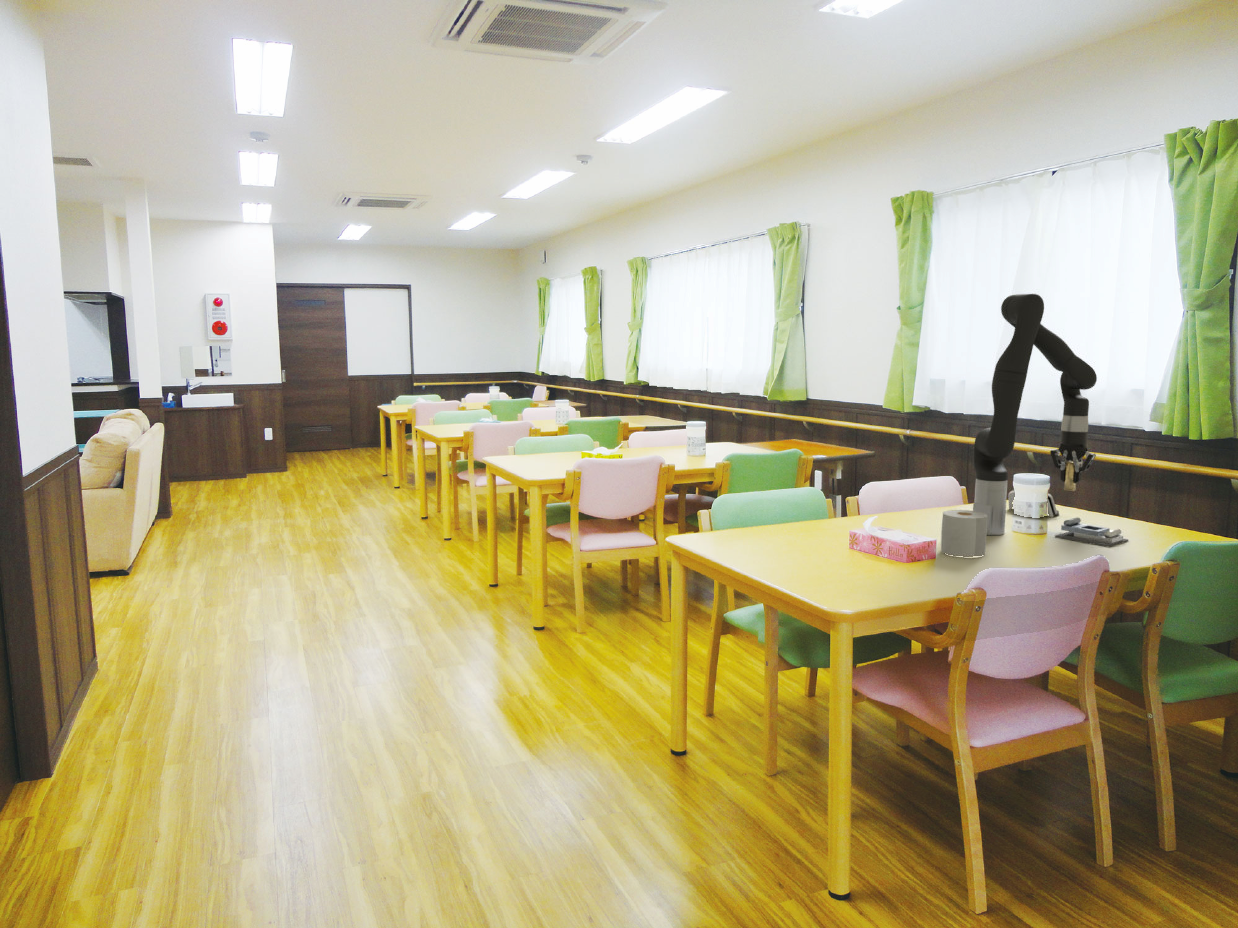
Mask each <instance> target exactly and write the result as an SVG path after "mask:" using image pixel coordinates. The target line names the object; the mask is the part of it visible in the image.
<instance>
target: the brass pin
mask: <svg viewBox="0 0 1238 928" xmlns="http://www.w3.org/2000/svg"><path fill="white" fill-rule="evenodd" d="M1074 472H1076V471H1075V465H1074V463H1073V461H1070V462H1066V471H1065V482H1064V485H1063V490H1064V491H1068V492H1069V491H1071V492H1075V491H1076V485H1077V484H1075V483H1074Z"/></svg>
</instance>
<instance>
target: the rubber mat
mask: <svg viewBox="0 0 1238 928" xmlns="http://www.w3.org/2000/svg"><path fill="white" fill-rule="evenodd" d="M1054 538H1056V539H1057V538H1058V539H1062V540H1063V539H1064V540H1069V541H1073V542H1074V541H1075V542H1080V543H1085V544H1090V543H1091V545H1095V546H1096V545H1097V546H1100V547H1106V546H1109V547H1108V548H1111V547H1114V545H1115V546H1117V545H1120V544H1124V543H1127V542H1129V539H1128V538H1123V541H1119V542H1116V543H1113V544H1110V543H1104V542H1099V541H1093V540H1088V539H1082V538H1077V537H1074V532H1070V531H1066V532H1062V533H1059V534H1056V535H1054Z"/></svg>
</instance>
